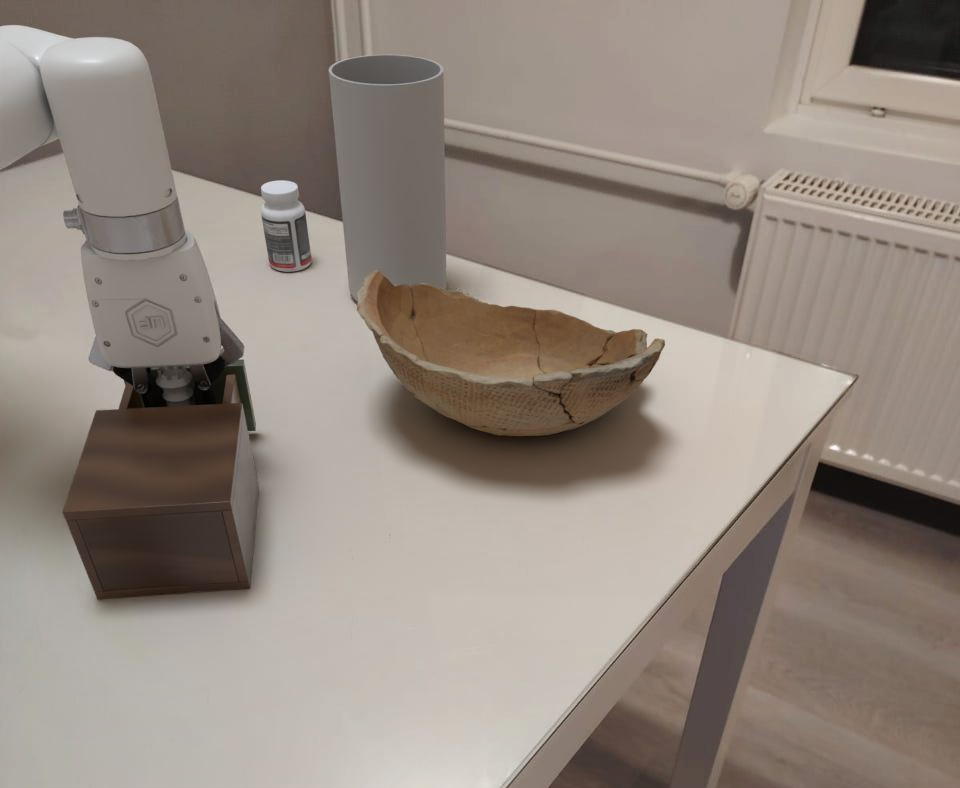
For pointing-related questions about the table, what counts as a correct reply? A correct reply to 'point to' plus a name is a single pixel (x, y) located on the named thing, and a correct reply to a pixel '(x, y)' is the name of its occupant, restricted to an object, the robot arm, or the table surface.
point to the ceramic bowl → (502, 358)
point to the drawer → (225, 387)
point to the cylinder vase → (391, 167)
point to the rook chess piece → (175, 385)
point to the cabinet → (165, 501)
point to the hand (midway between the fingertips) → (184, 421)
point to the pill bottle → (285, 227)
